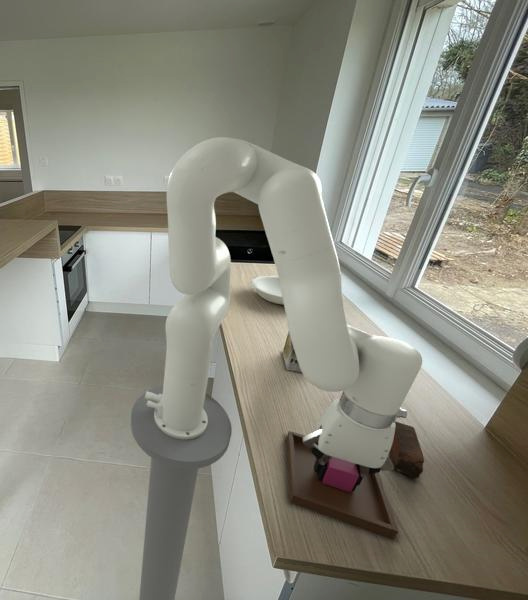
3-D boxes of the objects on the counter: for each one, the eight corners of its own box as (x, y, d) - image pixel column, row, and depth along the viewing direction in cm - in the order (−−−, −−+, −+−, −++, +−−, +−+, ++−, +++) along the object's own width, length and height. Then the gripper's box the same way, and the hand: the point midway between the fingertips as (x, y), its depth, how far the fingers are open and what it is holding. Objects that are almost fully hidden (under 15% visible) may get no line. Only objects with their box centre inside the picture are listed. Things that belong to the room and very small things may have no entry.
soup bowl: (315, 299, 137) (319, 285, 135) (300, 319, 121) (304, 303, 118) (259, 284, 151) (262, 271, 148) (238, 300, 135) (241, 286, 132)
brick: (384, 434, 72) (392, 419, 70) (406, 442, 71) (415, 426, 69) (392, 471, 64) (401, 455, 62) (417, 481, 62) (427, 465, 60)
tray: (290, 502, 58) (293, 495, 57) (286, 437, 71) (288, 430, 70) (393, 539, 53) (398, 531, 52) (368, 461, 66) (372, 454, 65)
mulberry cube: (322, 483, 60) (329, 467, 58) (319, 463, 64) (326, 447, 62) (350, 492, 59) (359, 476, 57) (345, 471, 63) (353, 455, 61)
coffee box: (310, 374, 91) (327, 325, 84) (286, 369, 93) (300, 321, 86) (304, 356, 99) (318, 310, 92) (281, 352, 101) (294, 306, 94)
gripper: (419, 406, 54) (380, 478, 62) (308, 380, 60) (285, 449, 67) (439, 440, 48) (393, 515, 56) (312, 407, 53) (287, 480, 61)
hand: (334, 478), depth 61 cm, fingers closed on mulberry cube, 4 cm apart
